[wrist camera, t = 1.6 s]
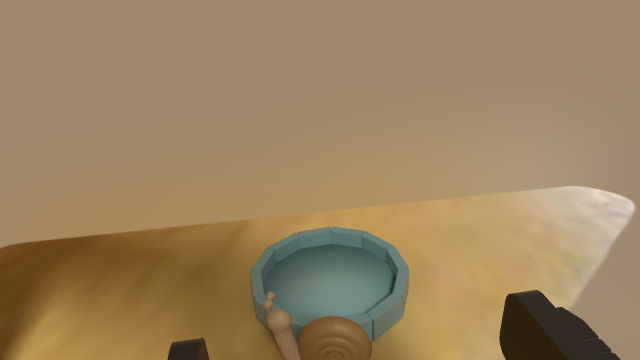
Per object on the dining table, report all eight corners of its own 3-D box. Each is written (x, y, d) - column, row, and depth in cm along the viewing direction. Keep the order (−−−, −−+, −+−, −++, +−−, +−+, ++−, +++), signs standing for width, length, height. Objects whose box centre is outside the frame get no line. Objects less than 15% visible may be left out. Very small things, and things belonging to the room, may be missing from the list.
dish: (226, 329, 39) (222, 309, 38) (287, 237, 52) (285, 220, 51) (393, 366, 34) (393, 344, 33) (414, 255, 47) (416, 237, 46)
